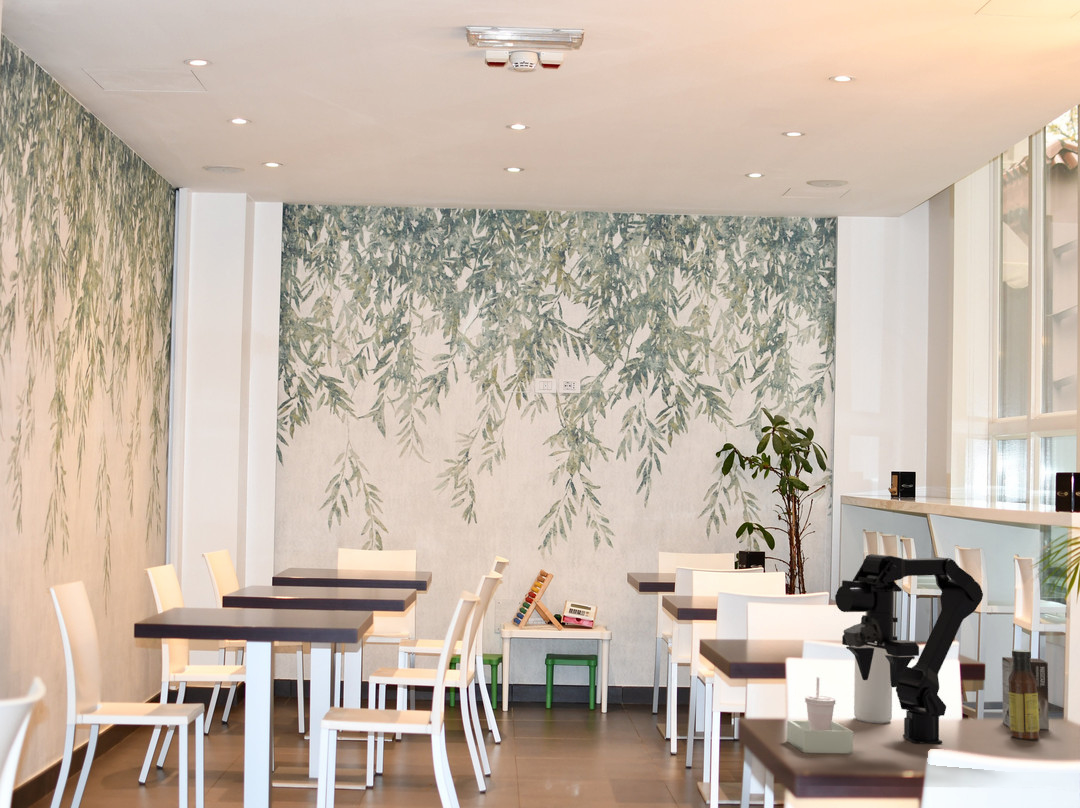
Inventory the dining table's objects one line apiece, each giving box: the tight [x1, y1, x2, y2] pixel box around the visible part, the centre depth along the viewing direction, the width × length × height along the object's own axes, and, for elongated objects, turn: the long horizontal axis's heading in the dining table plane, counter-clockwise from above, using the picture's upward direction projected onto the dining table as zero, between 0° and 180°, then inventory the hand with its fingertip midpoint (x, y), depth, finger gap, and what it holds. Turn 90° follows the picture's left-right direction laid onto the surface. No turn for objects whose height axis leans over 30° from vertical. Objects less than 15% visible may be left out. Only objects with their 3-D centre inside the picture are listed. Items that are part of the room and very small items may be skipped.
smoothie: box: [804, 676, 837, 730], centre depth 230 cm, size 6×6×14 cm
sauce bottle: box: [1008, 649, 1040, 741], centre depth 249 cm, size 6×6×20 cm
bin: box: [786, 719, 854, 754], centre depth 230 cm, size 11×11×4 cm
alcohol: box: [853, 612, 893, 725], centre depth 263 cm, size 9×9×30 cm
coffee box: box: [1001, 656, 1050, 730], centre depth 262 cm, size 9×6×16 cm
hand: (879, 683), depth 236 cm, fingers open, 9 cm apart
